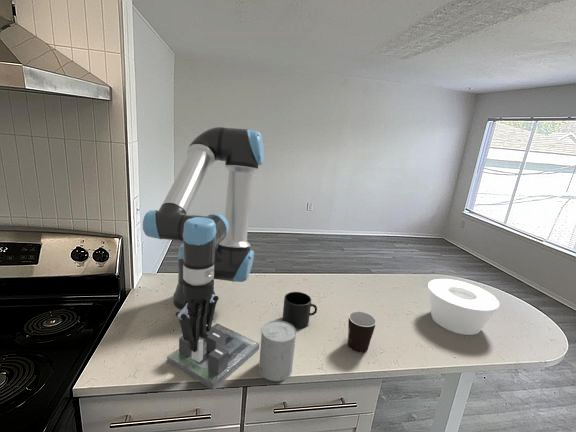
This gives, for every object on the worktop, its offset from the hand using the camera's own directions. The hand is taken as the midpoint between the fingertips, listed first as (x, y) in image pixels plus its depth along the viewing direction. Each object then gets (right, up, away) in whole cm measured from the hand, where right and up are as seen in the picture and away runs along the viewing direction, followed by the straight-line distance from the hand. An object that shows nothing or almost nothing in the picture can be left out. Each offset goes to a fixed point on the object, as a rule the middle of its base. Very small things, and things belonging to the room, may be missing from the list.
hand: (197, 358), depth 88 cm
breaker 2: (+4, 0, +6) cm, 7 cm away
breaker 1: (-4, 0, +5) cm, 6 cm away
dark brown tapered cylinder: (+48, -3, +18) cm, 51 cm away
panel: (+3, -2, +7) cm, 8 cm away
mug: (+28, +1, +28) cm, 40 cm away
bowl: (+89, -2, +38) cm, 96 cm away
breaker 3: (+6, -2, 0) cm, 6 cm away
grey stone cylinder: (+21, -5, +4) cm, 22 cm away
